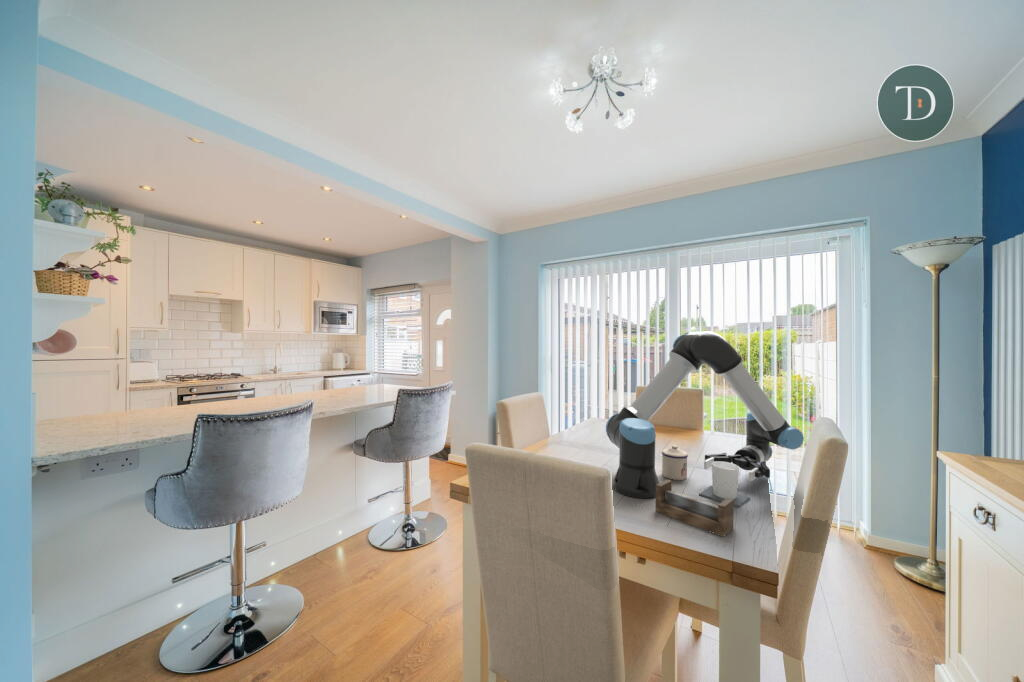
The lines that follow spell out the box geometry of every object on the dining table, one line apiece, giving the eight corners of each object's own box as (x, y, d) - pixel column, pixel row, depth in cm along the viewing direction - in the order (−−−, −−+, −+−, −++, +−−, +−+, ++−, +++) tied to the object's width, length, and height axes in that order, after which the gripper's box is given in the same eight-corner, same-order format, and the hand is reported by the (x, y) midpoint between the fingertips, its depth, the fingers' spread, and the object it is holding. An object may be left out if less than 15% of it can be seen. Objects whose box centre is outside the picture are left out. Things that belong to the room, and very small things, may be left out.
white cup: (727, 502, 119) (728, 470, 119) (705, 492, 126) (706, 462, 126) (744, 498, 122) (744, 467, 122) (721, 489, 129) (722, 460, 129)
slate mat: (699, 495, 125) (699, 493, 125) (711, 487, 132) (711, 485, 132) (739, 507, 116) (739, 505, 116) (749, 498, 123) (749, 497, 123)
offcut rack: (655, 511, 113) (655, 484, 113) (666, 504, 118) (667, 479, 118) (723, 536, 99) (724, 506, 99) (733, 528, 103) (733, 499, 103)
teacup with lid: (686, 482, 136) (687, 450, 136) (660, 477, 140) (660, 447, 140) (688, 472, 147) (688, 442, 147) (663, 468, 151) (664, 439, 151)
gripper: (789, 477, 128) (770, 494, 114) (712, 459, 147) (688, 471, 133) (790, 455, 128) (771, 469, 114) (713, 440, 147) (688, 450, 133)
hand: (726, 470), depth 124 cm, fingers open, 13 cm apart
